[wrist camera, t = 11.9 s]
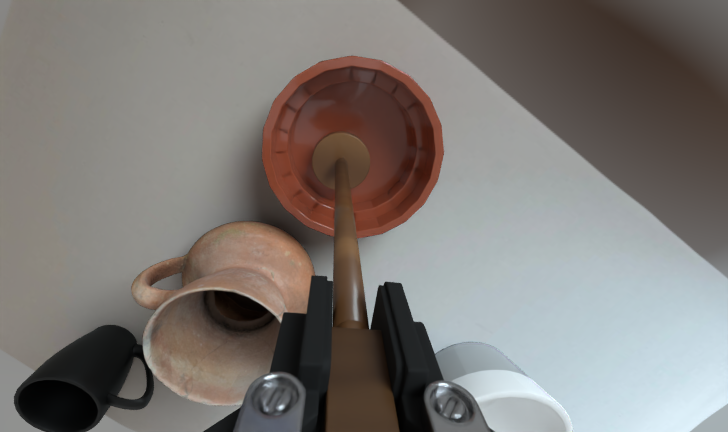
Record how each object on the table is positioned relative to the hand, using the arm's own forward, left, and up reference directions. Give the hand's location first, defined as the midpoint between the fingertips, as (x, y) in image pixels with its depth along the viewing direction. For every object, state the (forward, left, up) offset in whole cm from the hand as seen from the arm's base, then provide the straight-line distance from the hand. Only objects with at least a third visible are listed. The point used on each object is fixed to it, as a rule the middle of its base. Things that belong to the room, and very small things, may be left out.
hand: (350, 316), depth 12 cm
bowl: (+31, +22, -28) cm, 47 cm away
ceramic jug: (+15, -9, -28) cm, 33 cm away
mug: (+28, -24, -28) cm, 46 cm away
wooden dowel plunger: (0, 0, -27) cm, 27 cm away
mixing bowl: (-1, +1, -28) cm, 28 cm away
